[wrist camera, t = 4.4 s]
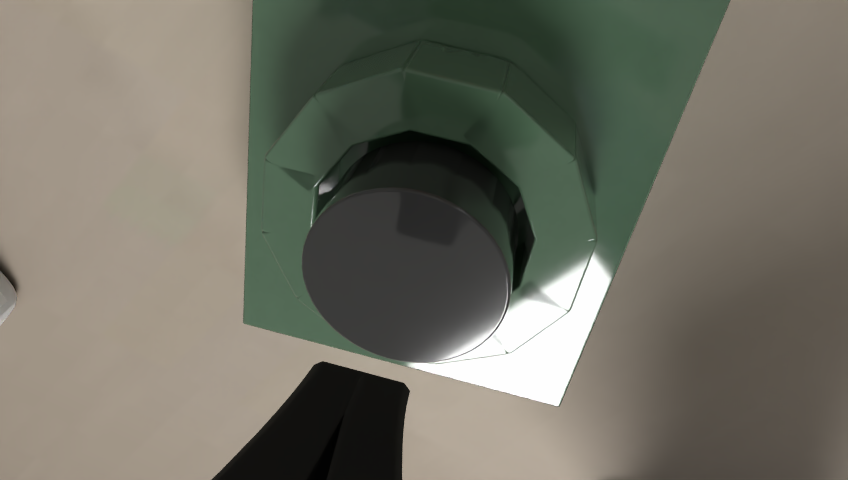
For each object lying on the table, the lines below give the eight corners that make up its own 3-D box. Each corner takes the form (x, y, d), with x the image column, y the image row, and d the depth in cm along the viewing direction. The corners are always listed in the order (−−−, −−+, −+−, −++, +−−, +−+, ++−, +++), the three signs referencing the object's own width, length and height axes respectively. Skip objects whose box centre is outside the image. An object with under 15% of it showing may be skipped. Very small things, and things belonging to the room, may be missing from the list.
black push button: (494, 321, 15) (484, 385, 14) (324, 277, 16) (294, 335, 14) (541, 167, 13) (536, 220, 11) (342, 118, 13) (309, 164, 12)
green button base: (561, 331, 21) (558, 461, 17) (283, 260, 21) (213, 368, 17) (705, -39, 15) (755, 22, 11) (310, -127, 15) (212, -101, 11)
